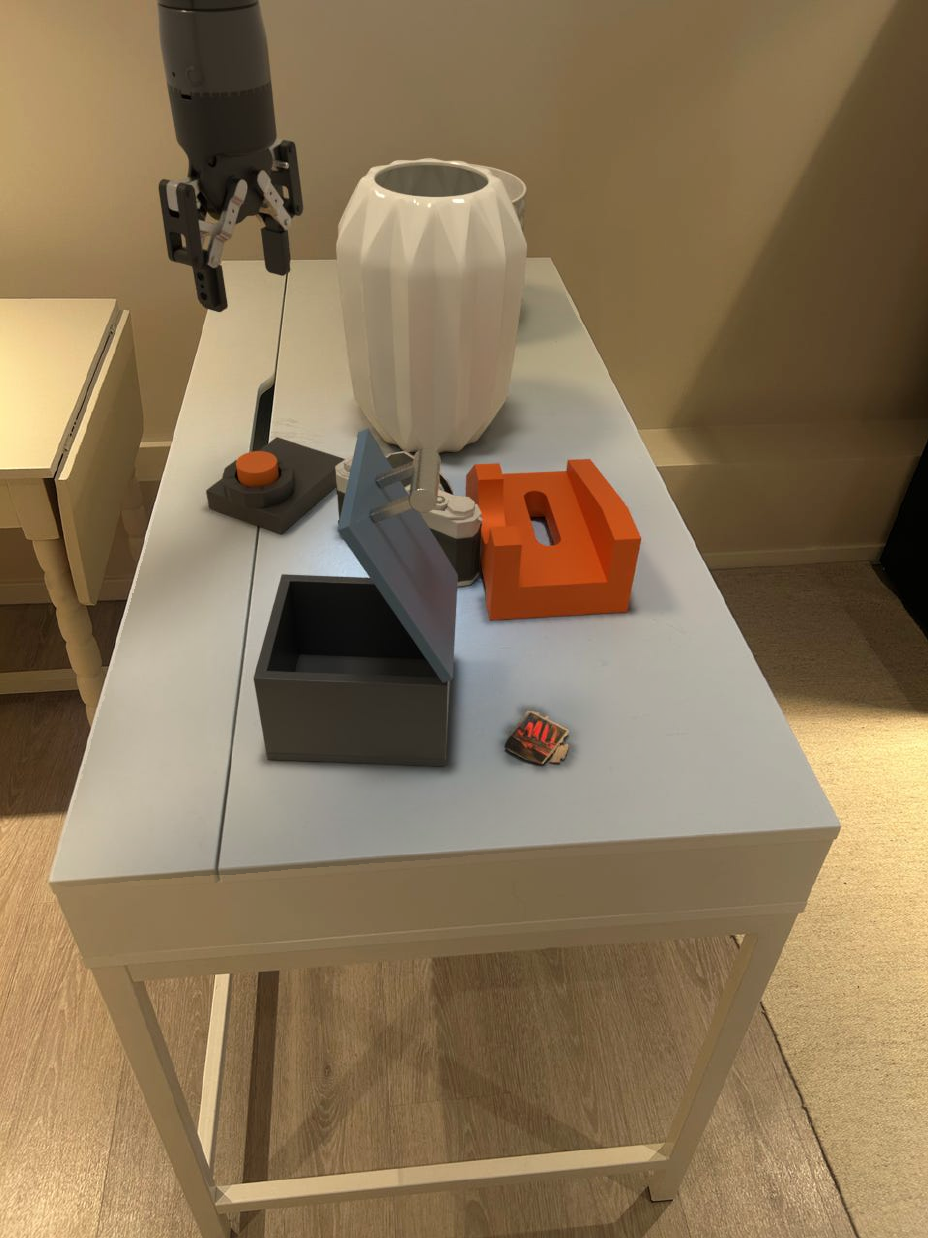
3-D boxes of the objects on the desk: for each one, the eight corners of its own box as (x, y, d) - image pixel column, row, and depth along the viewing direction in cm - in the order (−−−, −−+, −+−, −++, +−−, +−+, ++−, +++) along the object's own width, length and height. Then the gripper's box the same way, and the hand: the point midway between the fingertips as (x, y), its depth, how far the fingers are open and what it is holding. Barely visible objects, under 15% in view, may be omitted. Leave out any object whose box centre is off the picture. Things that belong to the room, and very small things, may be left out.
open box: (266, 759, 71) (253, 678, 65) (291, 654, 80) (281, 573, 74) (445, 766, 71) (447, 686, 65) (451, 660, 80) (453, 580, 74)
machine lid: (337, 530, 57) (416, 499, 55) (358, 431, 65) (426, 402, 64) (442, 683, 65) (513, 660, 64) (449, 577, 74) (511, 555, 72)
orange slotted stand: (627, 611, 85) (641, 538, 80) (489, 620, 84) (494, 545, 78) (584, 499, 99) (594, 429, 93) (465, 505, 97) (467, 434, 92)
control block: (278, 537, 92) (274, 503, 89) (205, 510, 95) (199, 477, 92) (347, 476, 101) (345, 444, 98) (278, 454, 103) (275, 421, 101)
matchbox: (501, 754, 72) (501, 750, 72) (520, 708, 76) (521, 704, 75) (559, 771, 71) (560, 767, 71) (576, 724, 75) (577, 720, 74)
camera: (510, 550, 92) (517, 462, 85) (463, 597, 86) (467, 507, 80) (379, 497, 98) (376, 411, 91) (327, 537, 92) (319, 449, 86)
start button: (262, 492, 92) (260, 476, 90) (229, 480, 93) (227, 465, 92) (286, 472, 94) (285, 457, 93) (254, 461, 96) (252, 446, 94)
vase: (369, 487, 99) (356, 220, 81) (329, 400, 113) (311, 155, 95) (539, 460, 104) (564, 202, 86) (481, 379, 118) (492, 143, 99)
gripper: (239, 49, 74) (263, 253, 85) (109, 87, 65) (155, 311, 76) (317, 62, 72) (332, 271, 83) (193, 103, 63) (229, 333, 73)
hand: (247, 290), depth 79 cm, fingers open, 8 cm apart
